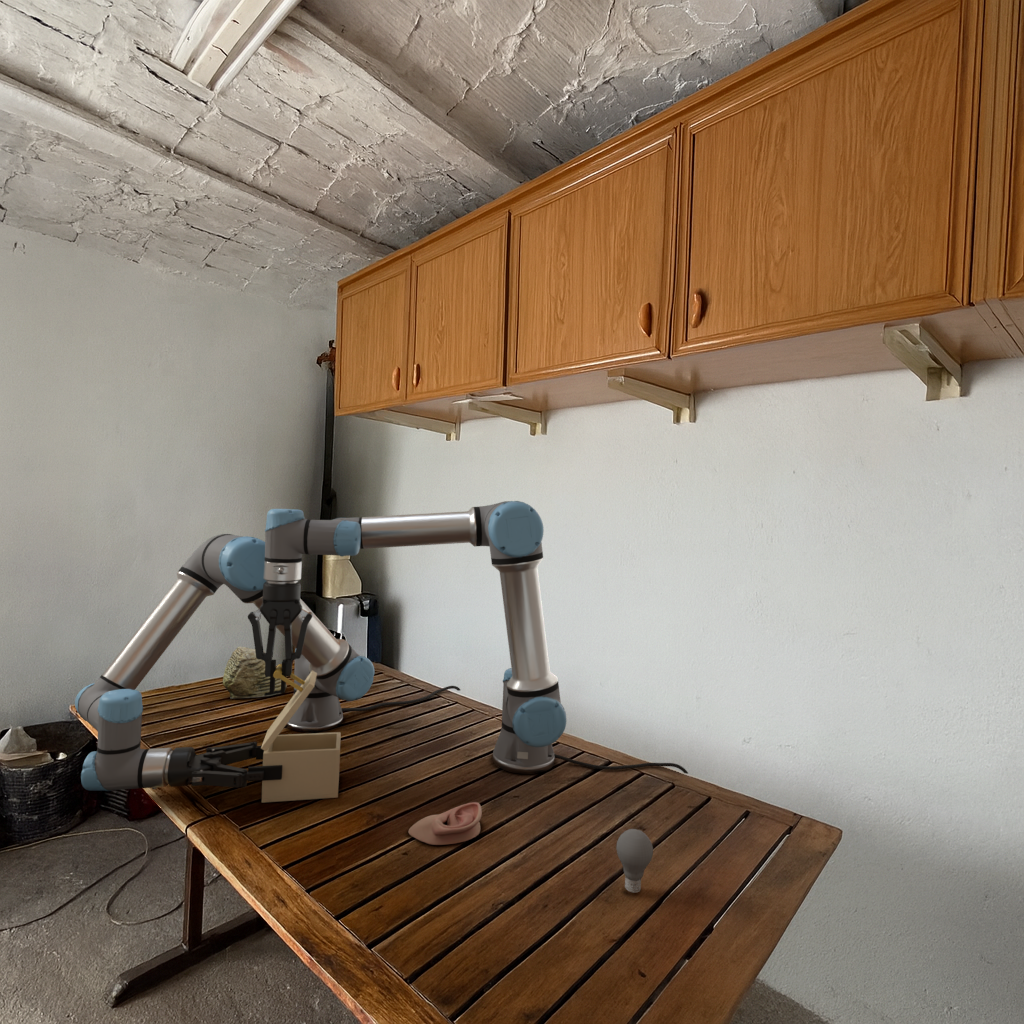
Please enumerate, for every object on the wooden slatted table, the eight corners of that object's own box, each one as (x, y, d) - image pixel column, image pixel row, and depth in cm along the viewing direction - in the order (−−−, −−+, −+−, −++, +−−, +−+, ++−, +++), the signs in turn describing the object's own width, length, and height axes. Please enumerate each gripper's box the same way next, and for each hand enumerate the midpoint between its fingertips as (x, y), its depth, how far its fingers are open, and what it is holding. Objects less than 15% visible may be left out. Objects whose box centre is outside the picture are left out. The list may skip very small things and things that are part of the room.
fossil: (218, 695, 195) (220, 647, 195) (278, 685, 208) (279, 640, 207) (228, 703, 189) (230, 653, 188) (289, 692, 201) (290, 645, 201)
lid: (317, 673, 142) (285, 653, 140) (314, 686, 132) (280, 665, 130) (272, 733, 140) (240, 713, 138) (266, 751, 130) (231, 730, 128)
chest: (339, 776, 144) (340, 731, 143) (337, 797, 134) (339, 749, 134) (268, 781, 140) (269, 735, 140) (261, 802, 130) (263, 753, 130)
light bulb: (610, 879, 108) (613, 822, 108) (644, 879, 109) (647, 822, 109) (619, 902, 102) (622, 840, 102) (655, 901, 103) (658, 840, 103)
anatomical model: (402, 819, 118) (423, 791, 129) (402, 840, 118) (422, 811, 129) (471, 829, 115) (486, 801, 126) (470, 851, 115) (486, 820, 126)
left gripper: (184, 762, 142) (289, 757, 147) (153, 812, 120) (277, 803, 125) (186, 729, 141) (290, 725, 147) (154, 772, 119) (279, 766, 125)
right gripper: (242, 583, 129) (237, 697, 130) (317, 584, 133) (312, 695, 133) (248, 578, 137) (244, 687, 137) (319, 579, 140) (314, 685, 140)
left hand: (284, 761), depth 136 cm, fingers closed on chest, 10 cm apart
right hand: (277, 691), depth 135 cm, fingers closed on lid, 1 cm apart
